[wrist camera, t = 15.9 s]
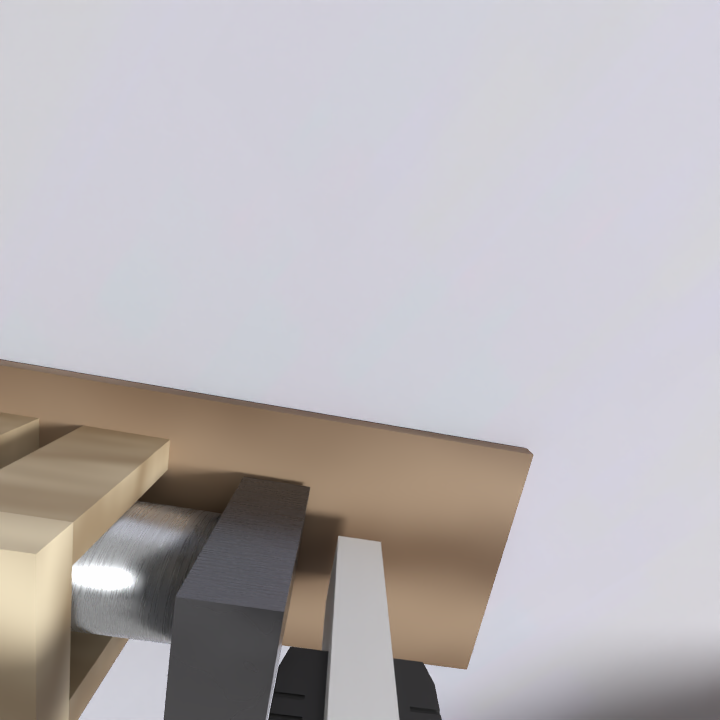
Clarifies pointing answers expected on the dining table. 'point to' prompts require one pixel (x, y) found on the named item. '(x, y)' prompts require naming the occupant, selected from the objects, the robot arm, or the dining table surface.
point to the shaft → (200, 594)
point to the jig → (212, 493)
